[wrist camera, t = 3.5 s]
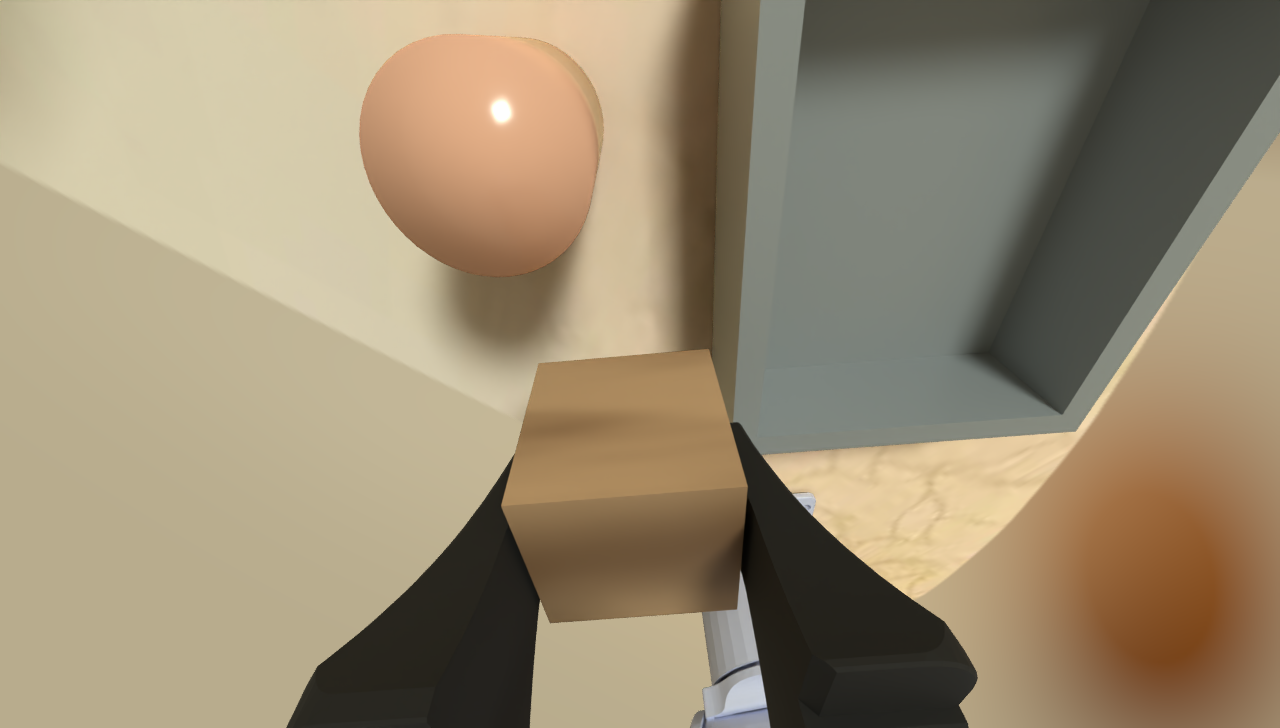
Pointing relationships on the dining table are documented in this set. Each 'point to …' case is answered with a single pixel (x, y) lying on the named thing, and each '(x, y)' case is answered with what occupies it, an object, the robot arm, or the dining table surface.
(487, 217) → the terracotta cylinder
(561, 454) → the walnut cube
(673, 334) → the dining table surface
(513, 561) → the robot arm
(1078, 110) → the box
